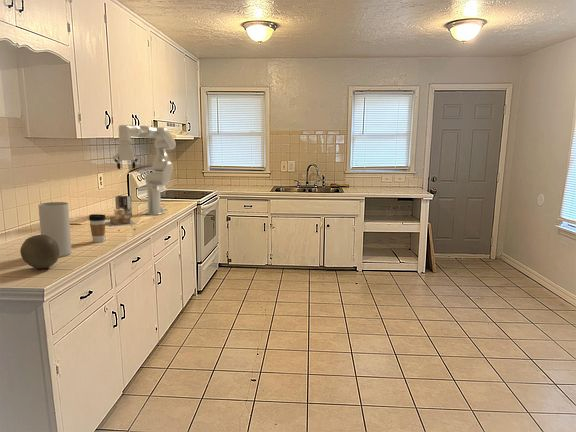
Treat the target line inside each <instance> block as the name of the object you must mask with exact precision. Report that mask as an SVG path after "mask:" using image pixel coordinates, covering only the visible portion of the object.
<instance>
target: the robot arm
mask: <svg viewBox="0 0 576 432" xmlns="http://www.w3.org/2000/svg"><path fill="white" fill-rule="evenodd" d="M133 137H136V138H141V139H154V147H155V151H156V156H155V159H154V160H153V161H154V162H153V163H152V167H151V169H152V171H153V172H148V173H147V174H146V175H145V178H144V179H145V183H146V192H147V211H146V212H145V215H149V216H156V215H157V216H159V215H163V214H164V212H167V211H168V208H167V207H165V208H164V207H161V205H162V203H161V188H160V186H162V187H165V186H167V185H168V184H169V181H170V179H171V177H172V174H173V171H174V165H173V162H171V161H169V160H168V157H169V156H168V153H167V152H166V150H168V151H169V150H174V149H175V148H176V145H177V143H176V140H175V138H174V137H173V135H172V133H171V132H170V130H169V129H168V128H167V127H164V126H163V127H161V126H160V127H159V126H158V127H157V126H149V125H136V124H133V125H132V124H121V125H118V145H117V154H115V155H113V156H112V159H113V161H114V162H115V163H116V167H117V169H118V170H121V163H120V162H121V161H131V162H132V164H131V166H132V170H133V169H134V170H135V169H136V163H137V162H138V160H139V158H140V156H139V155H137V154H134V148H133V144H134V142H133V141H132V138H133Z"/></svg>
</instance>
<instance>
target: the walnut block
mask: <svg viewBox="0 0 576 432" xmlns="http://www.w3.org/2000/svg"><path fill="white" fill-rule="evenodd" d="M130 220H131V217H128V216H126V215H125V217H122V218H116V217H115V215H113V216H109V222H110V223H112V224H113V225H121V224H130Z"/></svg>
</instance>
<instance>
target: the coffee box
mask: <svg viewBox="0 0 576 432" xmlns="http://www.w3.org/2000/svg"><path fill="white" fill-rule="evenodd" d="M114 200H115V209H124V214H125V215H126V216H128V217H130V218H132V217H133V211H132V209H133V207H132V196H131V195H117V196H115V199H114Z"/></svg>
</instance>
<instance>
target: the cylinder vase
mask: <svg viewBox="0 0 576 432" xmlns="http://www.w3.org/2000/svg"><path fill="white" fill-rule="evenodd" d="M37 205H38V216H39V217H38V219H39V228H40V229H39V231H40V235H47V236H49V237H51V238H52V239H54V240H55V241H56V242H57V244H58V246H59V251H60V254H59V258H62V257H63V258H64V257H66V256H68V255H70V254H71V253H72V240H71V239H72V238H71V227H70V211H69V210H70V209H69V202H64V201H53V202H50V201H49V202H43V203H38V204H37Z"/></svg>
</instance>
